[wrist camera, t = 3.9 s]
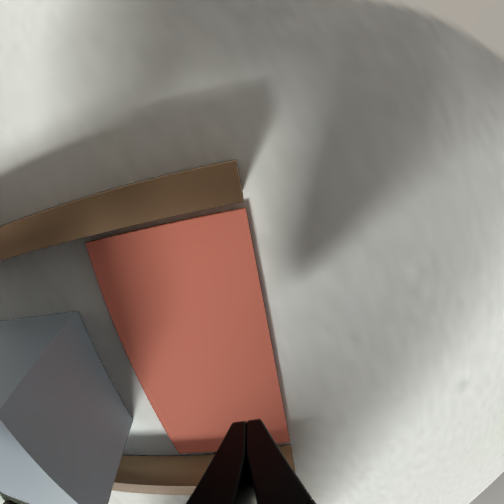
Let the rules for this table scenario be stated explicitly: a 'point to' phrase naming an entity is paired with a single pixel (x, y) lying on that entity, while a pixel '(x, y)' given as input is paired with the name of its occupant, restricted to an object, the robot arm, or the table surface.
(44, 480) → the slate block
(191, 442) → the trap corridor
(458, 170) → the table surface
